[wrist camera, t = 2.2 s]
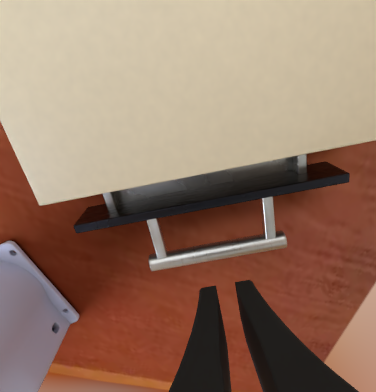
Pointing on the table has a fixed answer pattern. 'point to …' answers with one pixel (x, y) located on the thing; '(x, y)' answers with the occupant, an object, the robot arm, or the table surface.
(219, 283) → the table surface
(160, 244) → the drawer
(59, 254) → the table surface
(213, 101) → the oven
